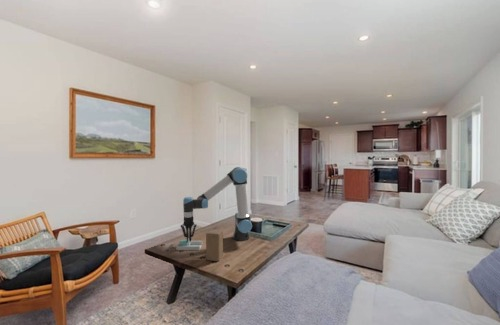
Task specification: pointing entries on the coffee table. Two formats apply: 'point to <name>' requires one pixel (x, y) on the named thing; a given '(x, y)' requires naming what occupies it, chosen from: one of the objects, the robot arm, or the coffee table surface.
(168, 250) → the mat
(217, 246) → the wooden block
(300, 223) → the coffee table surface
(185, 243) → the teal block
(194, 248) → the chute
